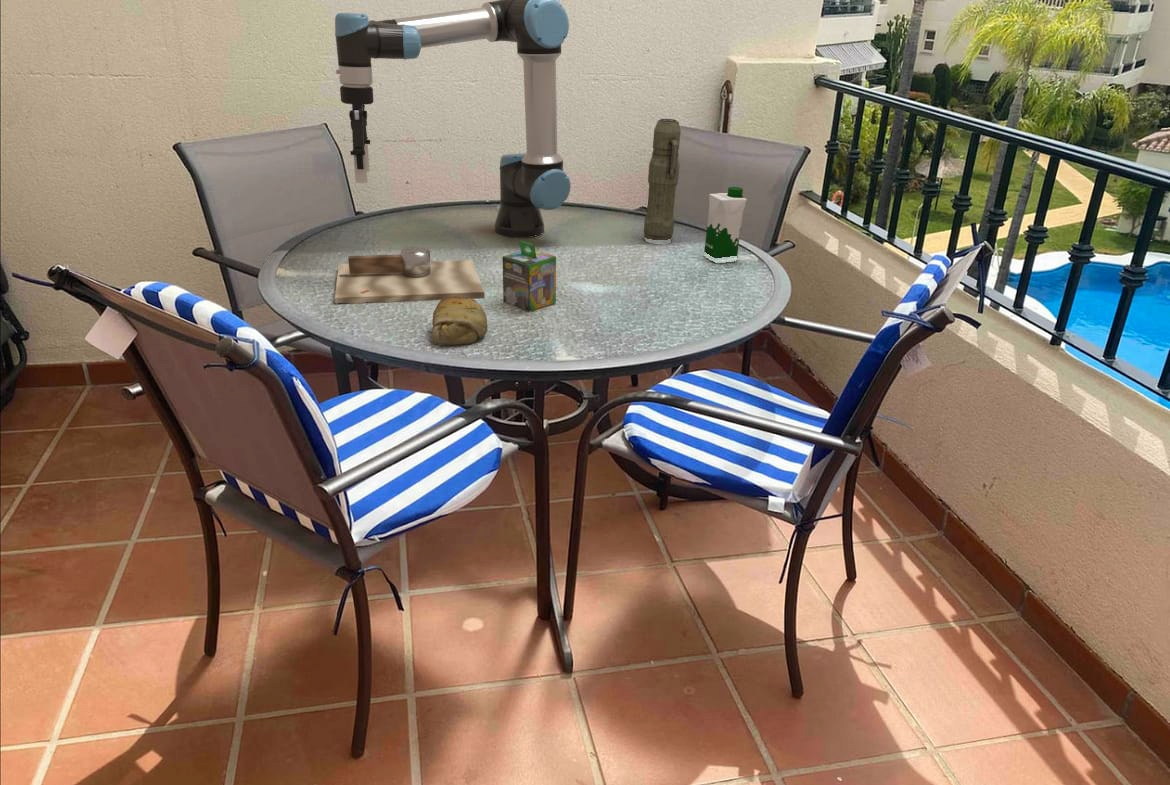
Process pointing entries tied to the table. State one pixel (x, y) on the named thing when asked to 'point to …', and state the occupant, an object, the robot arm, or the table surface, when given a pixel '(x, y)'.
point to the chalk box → (529, 278)
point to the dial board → (410, 284)
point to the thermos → (662, 180)
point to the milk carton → (724, 223)
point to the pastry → (458, 321)
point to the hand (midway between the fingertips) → (362, 176)
